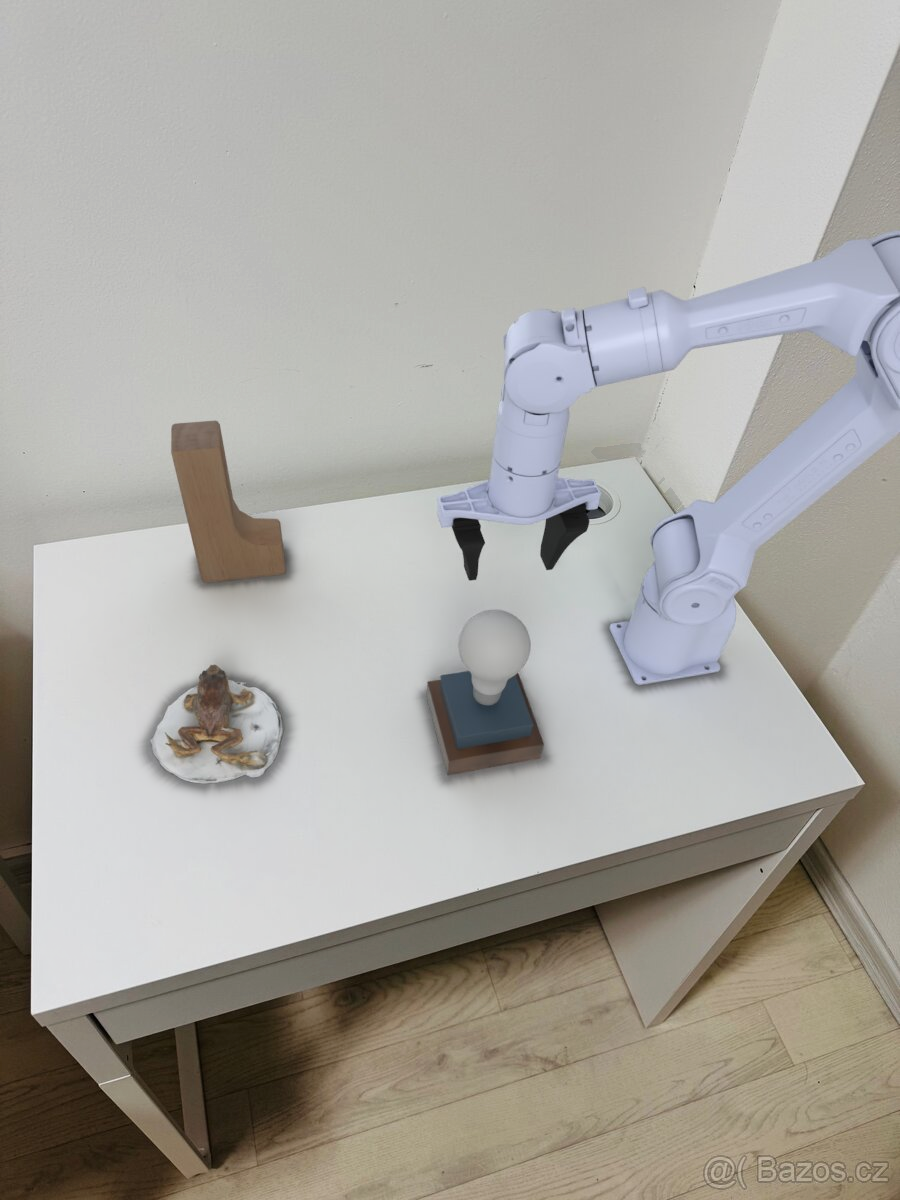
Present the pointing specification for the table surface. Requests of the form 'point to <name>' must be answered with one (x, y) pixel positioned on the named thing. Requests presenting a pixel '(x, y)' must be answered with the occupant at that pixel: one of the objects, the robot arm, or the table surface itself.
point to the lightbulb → (493, 652)
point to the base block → (479, 754)
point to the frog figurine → (218, 731)
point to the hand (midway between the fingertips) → (508, 567)
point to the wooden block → (220, 510)
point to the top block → (484, 712)
